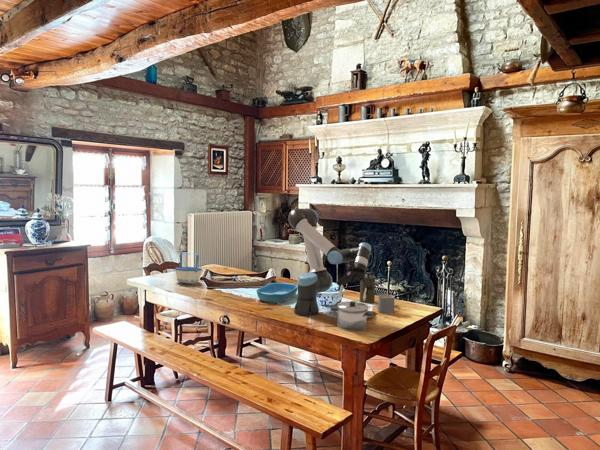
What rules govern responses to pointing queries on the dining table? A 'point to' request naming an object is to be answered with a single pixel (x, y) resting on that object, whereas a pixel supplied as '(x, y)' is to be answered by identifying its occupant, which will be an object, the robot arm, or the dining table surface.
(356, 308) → the lid
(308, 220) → the robot arm
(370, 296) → the canister
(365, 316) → the pressure cooker pot
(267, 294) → the casserole dish
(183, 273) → the basket
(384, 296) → the coffee mug
